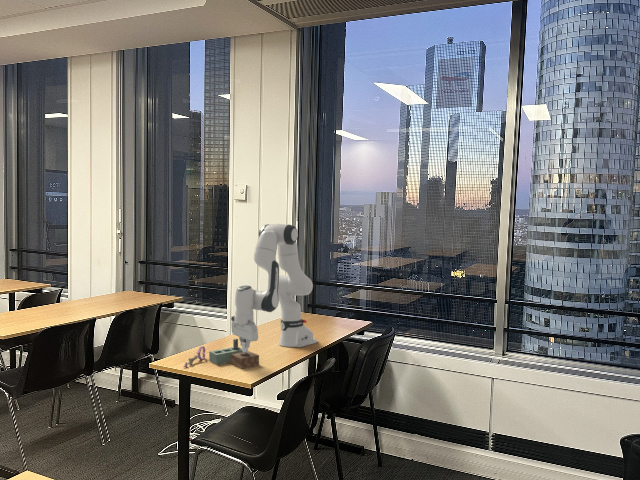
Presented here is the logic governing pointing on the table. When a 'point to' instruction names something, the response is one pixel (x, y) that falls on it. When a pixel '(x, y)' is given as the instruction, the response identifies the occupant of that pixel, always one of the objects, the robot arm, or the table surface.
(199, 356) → the decorative key
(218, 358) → the drill rack
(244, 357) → the socket block
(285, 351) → the table surface
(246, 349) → the metal cylinder rod
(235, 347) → the dark grey peg
